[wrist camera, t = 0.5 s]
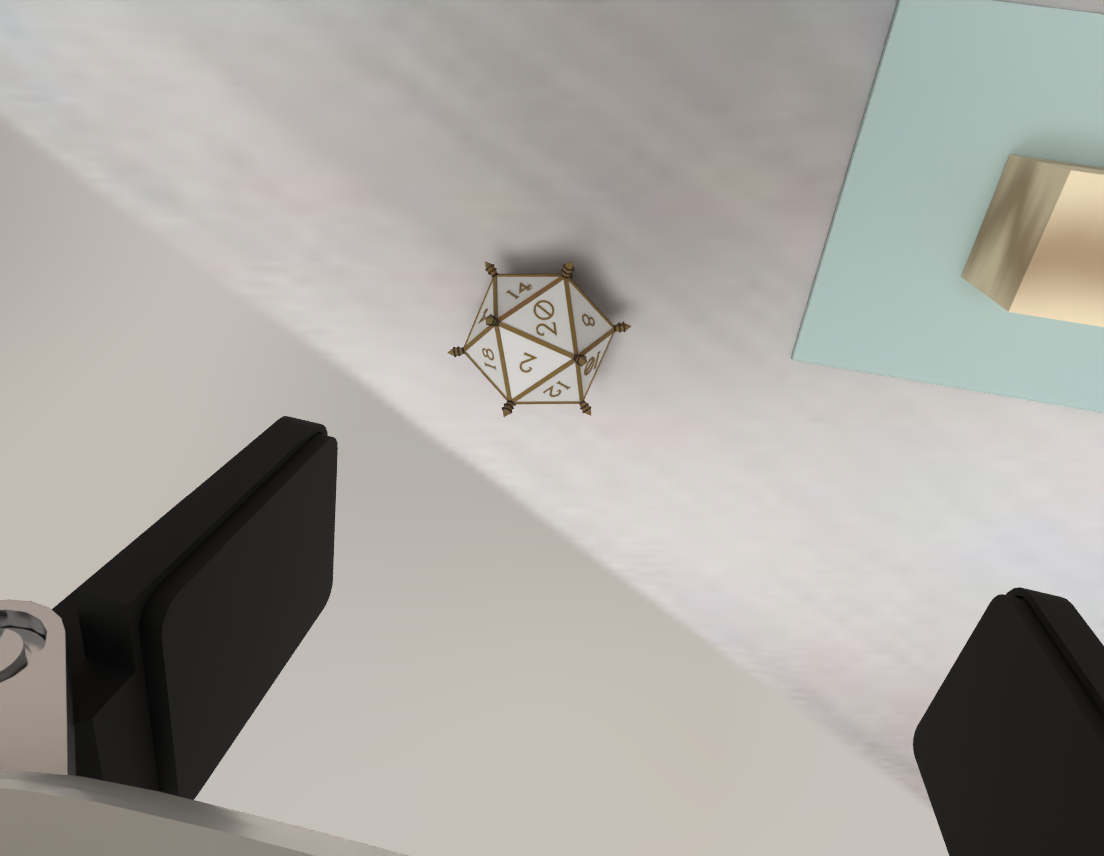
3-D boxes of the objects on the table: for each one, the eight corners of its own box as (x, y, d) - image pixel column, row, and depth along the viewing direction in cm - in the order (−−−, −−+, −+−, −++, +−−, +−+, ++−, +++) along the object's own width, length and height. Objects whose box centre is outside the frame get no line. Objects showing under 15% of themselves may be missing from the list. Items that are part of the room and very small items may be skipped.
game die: (532, 282, 45) (430, 228, 36) (658, 283, 41) (576, 222, 32) (511, 423, 45) (404, 402, 36) (636, 438, 40) (548, 420, 32)
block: (1009, 154, 34) (1071, 170, 29) (1141, 172, 33) (1228, 192, 28) (960, 276, 37) (1008, 311, 31) (1081, 295, 36) (1150, 334, 31)
